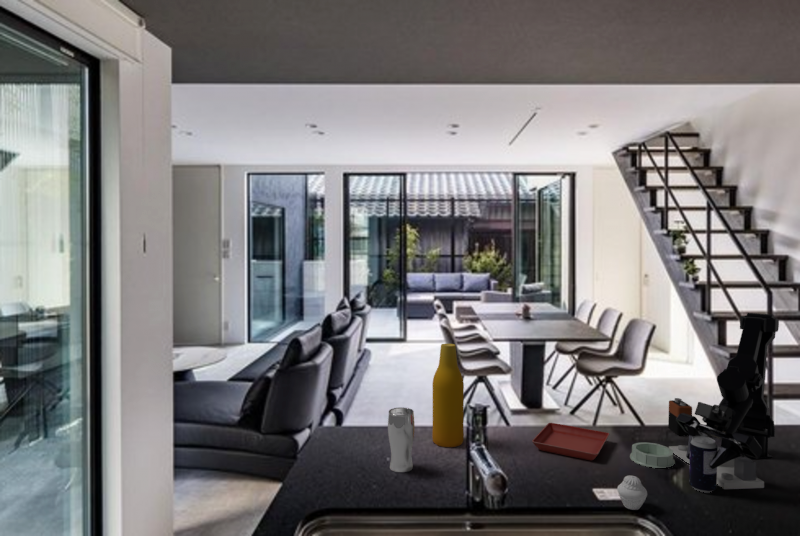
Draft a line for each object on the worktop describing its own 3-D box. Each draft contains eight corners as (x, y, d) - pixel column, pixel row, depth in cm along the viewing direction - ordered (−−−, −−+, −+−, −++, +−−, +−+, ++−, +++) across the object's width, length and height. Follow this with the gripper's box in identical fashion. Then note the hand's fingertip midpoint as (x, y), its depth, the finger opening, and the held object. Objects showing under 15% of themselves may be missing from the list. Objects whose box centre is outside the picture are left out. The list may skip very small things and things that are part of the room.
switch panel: (669, 451, 149) (669, 431, 149) (703, 450, 150) (703, 430, 150) (724, 489, 126) (724, 465, 126) (764, 487, 127) (764, 464, 127)
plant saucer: (597, 465, 141) (597, 453, 141) (530, 452, 150) (531, 440, 150) (610, 443, 156) (610, 432, 156) (548, 432, 166) (549, 422, 165)
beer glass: (418, 464, 141) (418, 409, 140) (407, 475, 134) (407, 416, 134) (394, 460, 144) (394, 405, 143) (383, 470, 137) (383, 413, 137)
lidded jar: (629, 515, 114) (630, 483, 114) (611, 501, 120) (611, 471, 120) (653, 511, 116) (654, 479, 116) (634, 498, 122) (634, 468, 122)
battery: (681, 428, 168) (682, 397, 167) (692, 436, 161) (693, 404, 161) (667, 428, 168) (668, 397, 168) (677, 436, 161) (678, 403, 161)
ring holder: (660, 451, 149) (660, 441, 149) (683, 468, 138) (684, 456, 138) (622, 452, 148) (622, 442, 148) (642, 469, 137) (643, 458, 137)
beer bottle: (429, 446, 154) (429, 346, 152) (436, 435, 163) (436, 341, 161) (460, 449, 151) (460, 348, 150) (466, 438, 160) (466, 342, 159)
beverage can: (713, 485, 128) (714, 436, 128) (718, 496, 123) (720, 445, 122) (687, 482, 130) (688, 434, 130) (691, 492, 125) (692, 442, 124)
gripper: (681, 381, 136) (649, 430, 132) (755, 401, 119) (721, 457, 115) (702, 407, 139) (671, 456, 135) (776, 430, 122) (744, 486, 118)
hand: (699, 462), depth 126 cm, fingers closed on beverage can, 6 cm apart
